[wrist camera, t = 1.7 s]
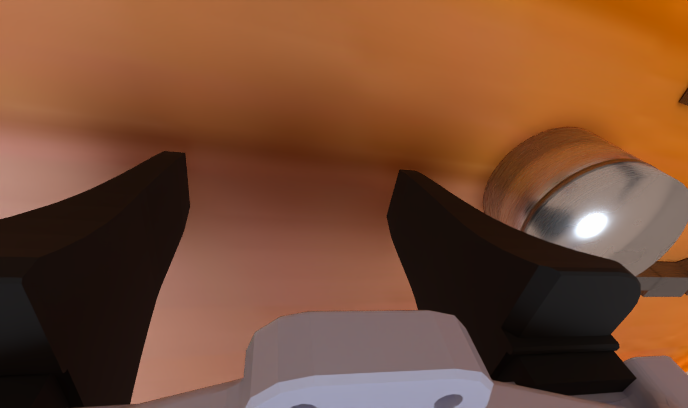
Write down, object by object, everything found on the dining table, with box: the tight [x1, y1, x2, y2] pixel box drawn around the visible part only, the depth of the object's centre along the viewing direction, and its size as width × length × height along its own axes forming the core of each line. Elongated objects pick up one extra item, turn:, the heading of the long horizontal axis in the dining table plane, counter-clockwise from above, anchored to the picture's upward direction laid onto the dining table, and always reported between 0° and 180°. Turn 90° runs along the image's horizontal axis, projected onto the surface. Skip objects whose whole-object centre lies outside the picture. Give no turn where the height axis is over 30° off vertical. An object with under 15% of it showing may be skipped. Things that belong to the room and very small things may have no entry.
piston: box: [483, 127, 688, 276], centre depth 14 cm, size 6×6×4 cm
